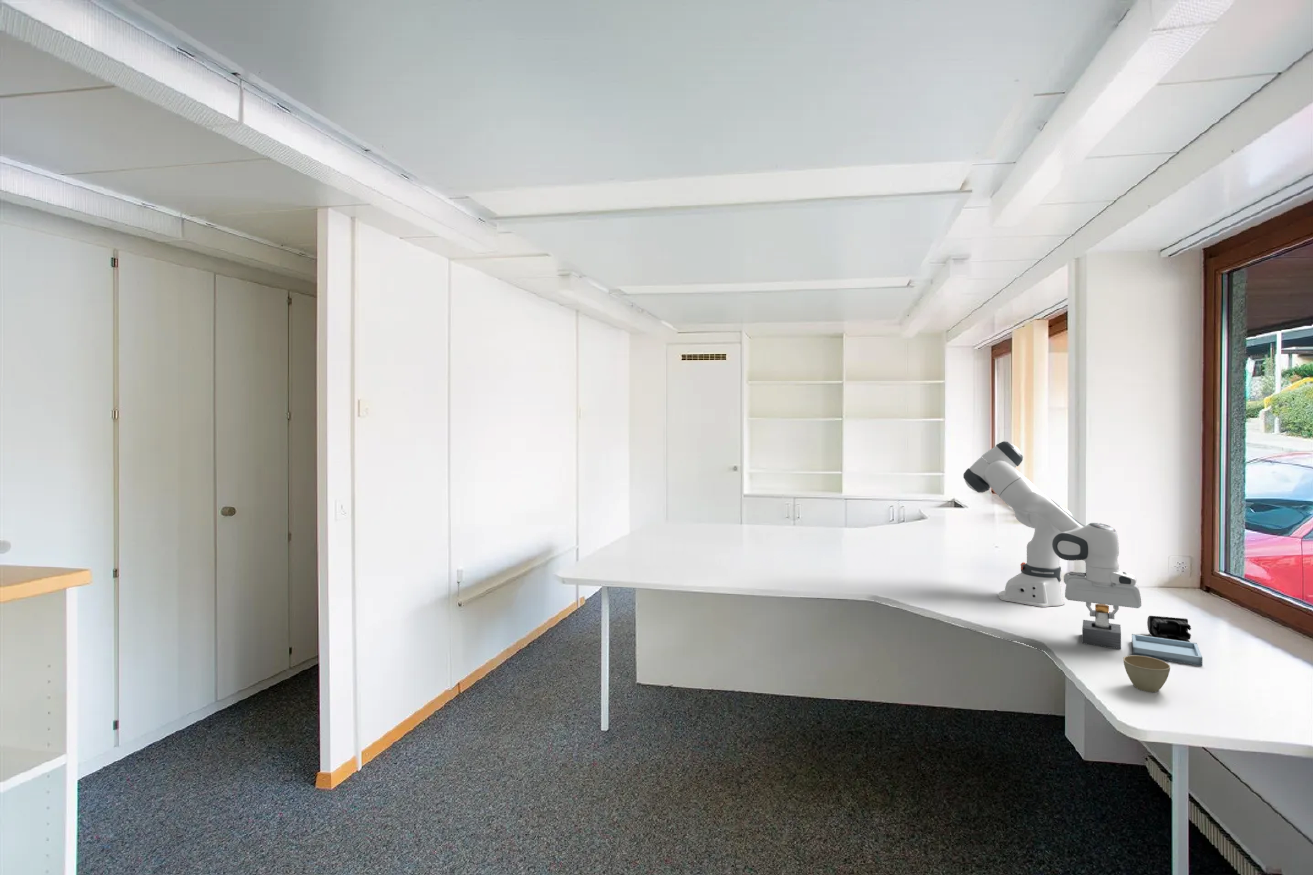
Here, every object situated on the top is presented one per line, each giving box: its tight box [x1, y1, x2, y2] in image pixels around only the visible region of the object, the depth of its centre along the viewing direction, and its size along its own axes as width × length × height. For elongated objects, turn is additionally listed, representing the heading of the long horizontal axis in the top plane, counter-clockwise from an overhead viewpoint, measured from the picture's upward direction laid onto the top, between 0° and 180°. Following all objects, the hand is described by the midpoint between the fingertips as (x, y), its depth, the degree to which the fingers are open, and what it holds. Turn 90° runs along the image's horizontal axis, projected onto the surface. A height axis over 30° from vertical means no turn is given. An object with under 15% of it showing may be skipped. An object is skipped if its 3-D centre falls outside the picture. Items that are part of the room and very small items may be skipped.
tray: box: [1131, 633, 1203, 667], centre depth 196 cm, size 16×14×2 cm
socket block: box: [1081, 619, 1122, 650], centre depth 206 cm, size 10×10×5 cm
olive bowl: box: [1122, 654, 1171, 693], centre depth 171 cm, size 10×10×7 cm
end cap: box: [1146, 615, 1192, 642], centre depth 208 cm, size 10×7×7 cm
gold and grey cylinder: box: [1094, 603, 1110, 630], centre depth 206 cm, size 4×4×11 cm
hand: (1102, 617), depth 206 cm, fingers closed on gold and grey cylinder, 4 cm apart
